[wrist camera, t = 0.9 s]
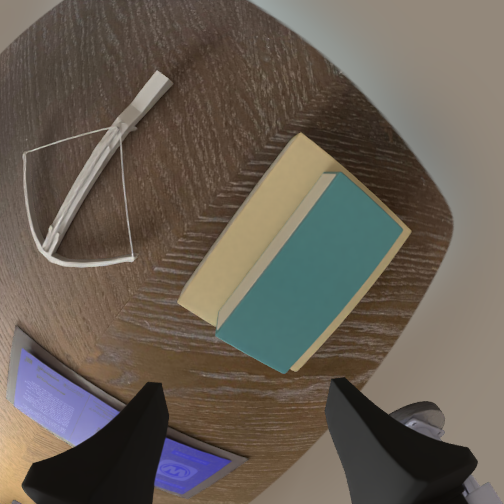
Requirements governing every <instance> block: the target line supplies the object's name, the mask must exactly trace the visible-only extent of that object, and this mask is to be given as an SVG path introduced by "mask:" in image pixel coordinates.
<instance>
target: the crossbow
mask: <svg viewBox="0 0 504 504" xmlns="http://www.w3.org/2000/svg"><path fill="white" fill-rule="evenodd" d="M173 84H174V83H173V82H171V81H170V80H169V79H168V78H167V77H165V76H164V75H163V74H161V73H160V72H159V71H156V72H155V73H154V75H153V76H152V77H151V78H150V80H149V81H148V82H147V83H146V85H145V86H144V87H143V89H142V90H141V91H140V92H139V94H138V95H137V96H136V98H135V99H134V100H133V102H132V103H131V104H130V105H129V106H128V107H127V108H126V109H125V110H124V111H123V112H122V113H121V114H120V115H119V116H118V118H117V119H116V120H115V122H114V123H113V124H112V126H111V127H108V128H104V129H100V130H96V131H92V132H88V133H85V134H81V135H77V136H74V137H71V138H67V139H64V140H61V141H57V142H54V143H51V144H48V145H45V146H42V147H39V148H36V149H34V150H37V149H40V148H43V147H46V146H49V145H52V144H55V143H59V142H62V141H65V140H68V139H72V138H75V137H79V136H82V135H86V134H90V133H94V132H98V131H102V130H106V129H109V130H108V131H107V133H106V134H105V136H104V137H103V139H102V140H101V141H100V142H99V143H98V145H97V146H96V148H95V149H94V151H93V153H92V155H91V157H90V158H89V160H88V161H87V163H86V164H85V166H84V168H83V169H82V171H81V173H80V174H79V176H78V178H77V179H76V181H75V183H74V185H73V186H72V188H71V190H70V192H69V193H68V195H67V197H66V199H65V201H64V203H63V204H62V206H61V208H60V210H59V212H58V214H57V216H56V218H55V220H54V222H53V224H52V225H50V227H49V229H48V230H49V232H48V235H47V237H46V239H44V238H43V236H42V233H41V231H40V229H39V225H38V221H37V217H36V212H35V207H34V200H33V191H32V181H31V162H32V154H31V152H32V151H34V150H29V151H24V153H23V160H24V193H25V202H26V210H27V215H28V220H29V224H30V228H31V232H32V236H33V238H34V240H35V242H36V245H37V248H38V250H39V252H41V253H42V254H43V255H44V256H45V257H46V258H47V259H48V260H49V261H50V262H52V263H56V264H59V265H61V266H68V267H93V266H106V265H111V264H115V263H120V262H125V261H129V262H133V261H134V260H135V259H136V258H137V257H138V255H139V253H133V247H132V240H131V234H130V226H129V219H128V211H127V202H126V193H125V182H124V170H123V156H122V141H123V140H124V139H125V137H126V136H127V135H128V133H129V132H131V131H136V129H137V127H135V125H136V124H137V123H138V122H139V121H140V120H141V119H142V118H143V117H144V116H145V115H146V113H147V112H148V111H149V110H150V109H151V108H152V107H153V105H154V104H155V103H156V102H157V101H158V100H159V99H160V98H161V97H162V96H163V94H164V93H165V92H166V91H167V90H168V89H169V88H170V87H171V86H172V85H173ZM119 146H120V150H121V165H122V178H123V188H124V198H125V207H126V215H127V223H128V230H129V237H130V244H131V250H132V254H127V255H123V256H118V257H113V258H104V259H92V260H83V259H69V258H66V257H63V256H60V254H58V253H56V251H57V249H58V247H59V245H60V243H61V241H62V239H63V237H64V235H65V233H66V231H67V229H68V228H69V226H70V224H71V222H72V220H73V218H74V217H75V215H76V213H77V211H78V209H79V208H80V206H81V204H82V203H83V201H84V199H85V197H86V196H87V194H88V192H89V191H90V189H91V188H92V186H93V184H94V183H95V181H96V180H97V178H98V176H99V175H100V173H101V172H102V170H103V169H104V167H105V166H106V164H107V163H108V161H109V160H110V158H111V157H112V155H113V154H114V153H115V151H116V150H117V148H118V147H119Z"/></svg>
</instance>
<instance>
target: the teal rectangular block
mask: <svg viewBox="0 0 504 504" xmlns="http://www.w3.org/2000/svg"><path fill="white" fill-rule="evenodd" d="M402 232H403V228H402V227H401V226H400V225H399V224H398V223H397V222H396V221H395V220H394V219H393V218H392V217H391V216H389V215H388V214H387V213H386V212H385V211H384V210H383V209H382V208H381V207H380V206H379V205H378V204H377V203H376V202H375V201H374V200H373V199H372V198H370V197H369V196H368V195H367V194H366V193H365V192H364V191H363V190H362V189H361V188H359V187H358V186H357V185H356V184H355V183H354V182H353V181H352V180H350V179H349V178H348V177H347V176H346V175H345V174H343V173H342V172H323V174H322V175H321V176H320V178H319V179H318V180H317V182H316V183H315V184H314V186H313V187H312V189H311V190H310V191H309V193H308V194H307V195H306V197H305V198H304V199H303V201H302V202H301V203H300V205H299V206H298V207H297V209H296V210H295V211H294V213H293V214H292V215H291V217H290V218H289V219H288V221H287V222H286V223H285V225H284V226H283V227H282V229H281V230H280V231H279V233H278V234H277V235H276V237H275V238H274V239H273V241H272V242H271V243H270V245H269V246H268V247H267V248H266V250H265V251H264V252H263V254H262V255H261V256H260V258H259V259H258V260H257V262H256V263H255V264H254V266H253V267H252V268H251V270H250V271H249V272H248V274H247V275H246V276H245V278H244V279H243V280H242V281H241V283H240V284H239V285H238V287H237V288H236V289H235V291H234V292H233V293H232V295H231V296H230V297H229V299H228V300H227V301H226V302H225V304H224V305H223V306H222V308H221V309H220V310H219V312H218V317H217V326H216V334H215V336H216V337H218V338H220V339H221V340H223V341H225V342H227V343H228V344H230V345H232V346H233V347H235V348H237V349H239V350H241V351H242V352H244V353H246V354H248V355H249V356H251V357H253V358H255V359H257V360H259V361H260V362H262V363H264V364H266V365H268V366H270V367H272V368H274V369H275V370H277V371H279V372H281V373H283V374H285V373H286V372H287V371H288V370H289V369H290V368H291V367H292V366H293V365H294V364H295V363H296V362H297V361H298V359H299V358H300V357H301V356H302V355H303V354H304V353H305V352H306V351H307V350H308V349H309V348H310V347H311V345H312V344H313V343H314V342H315V341H316V340H317V339H318V338H319V337H320V335H321V334H322V333H323V332H324V331H325V330H326V329H327V328H328V326H329V325H330V324H331V323H332V322H333V321H334V319H335V318H336V317H337V316H338V315H339V314H340V312H341V311H342V310H343V309H344V308H345V306H346V305H347V304H348V303H349V302H350V300H351V299H352V298H353V297H354V295H355V294H356V293H357V292H358V290H359V289H360V288H361V287H362V285H363V284H364V283H365V282H366V280H367V279H368V278H369V277H370V275H371V274H372V273H373V271H374V270H375V269H376V267H377V266H378V265H379V263H380V262H381V261H382V259H383V258H384V257H385V255H386V254H387V253H388V251H389V250H390V249H391V247H392V246H393V244H394V243H395V242H396V240H397V239H398V237H399V236H400V235H401V233H402Z"/></svg>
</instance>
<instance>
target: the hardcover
mask: <svg viewBox="0 0 504 504" xmlns="http://www.w3.org/2000/svg"><path fill="white" fill-rule="evenodd" d="M323 172H342V173H343V174H345V175H346V176H347V177H348V178H349V179H350V180H352V181H353V182H354V183H355V184H356V185H357V186H358V187H359V188H361V189H362V190H363V191H364V192H365V193H366V194H367V195H368V196H369V197H370V198H372V199H373V200H374V201H375V202H376V203H377V204H378V205H379V206H380V207H381V208H382V209H383V210H384V211H385V212H386V213H387V214H388V215H389V216H391V217H392V218H393V219H394V220H395V221H396V222H397V223H398V224H399V225H400V226H401V227H402V228H403V232H402V233H401V235H400V236H399V237H398V239H397V240H396V242H395V243H394V244H393V246H392V247H391V249H390V250H389V251H388V253H387V254H386V255H385V257H384V258H383V259H382V261H381V262H380V263H379V265H378V266H377V267H376V269H375V270H374V271H373V273H372V274H371V275H370V277H369V278H368V279H367V280H366V282H365V283H364V284H363V285H362V287H361V288H360V289H359V290H358V292H357V293H356V294H355V295H354V297H353V298H352V299H351V300H350V302H349V303H348V304H347V305H346V306H345V308H344V309H343V310H342V311H341V312H340V314H339V315H338V316H337V317H336V318H335V319H334V321H333V322H332V323H331V324H330V325H329V326H328V328H327V329H326V330H325V331H324V332H323V333H322V334H321V335H320V337H319V338H318V339H317V340H316V341H315V342H314V343H313V344H312V345H311V347H310V348H309V349H308V350H307V351H306V352H305V353H304V354H303V355H302V356H301V357H300V358H299V359H298V361H297V362H296V363H295V364H294V365H293V366H292V367H291V368H290V369H291V370H293V371H295V372H297V371H298V370H299V369H300V368H301V367H302V366H303V365H304V364H305V363H306V361H307V360H308V359H309V358H310V357H311V356H312V355H313V354H314V353H315V352H316V351H317V350H318V349H319V348H320V346H321V345H322V344H323V343H324V342H325V341H326V340H327V339H328V338H329V337H330V335H331V334H332V333H333V332H334V331H335V330H336V329H337V327H338V326H339V325H340V324H341V323H342V322H343V320H344V319H345V318H346V317H347V316H348V315H349V313H350V312H351V311H352V310H353V309H354V307H355V306H356V305H357V304H358V303H359V301H360V300H361V299H362V298H363V296H364V295H365V294H366V293H367V291H368V290H369V289H370V288H371V286H372V285H373V284H374V283H375V281H376V280H377V279H378V277H379V276H380V275H381V274H382V272H383V271H384V270H385V268H386V267H387V266H388V264H389V263H390V262H391V260H392V259H393V257H394V256H395V255H396V253H397V252H398V251H399V249H400V248H401V246H402V245H403V244H404V242H405V241H406V239H407V238H408V236H409V235H410V233H411V232H412V231H411V230H410V229H409V228H408V227H407V226H406V225H405V224H404V223H403V222H402V221H401V220H400V219H399V218H398V217H397V216H396V215H395V214H394V213H393V212H392V211H391V210H390V209H389V208H388V207H387V206H386V205H385V204H384V203H383V202H382V201H381V200H380V199H379V198H378V197H376V196H375V195H374V194H373V193H372V192H371V191H370V190H369V189H368V188H367V187H366V186H365V185H363V184H362V183H361V182H360V181H359V180H358V179H357V178H356V177H355V176H353V175H352V174H351V173H350V172H349V171H348V170H347V169H345V168H344V167H343V166H342V165H341V164H340V163H338V162H337V161H336V160H335V159H334V158H332V157H331V156H330V155H329V154H328V153H326V152H325V151H324V150H323V149H321V148H320V147H319V146H318V145H316V144H315V143H314V142H313V141H311V140H310V139H309V138H308V137H306V136H305V135H304V134H302V133H299V134H297V135H296V136H294V137H293V138H292V139H291V140H290V141H289V142H288V144H287V145H286V146H285V147H284V149H283V150H282V151H281V153H280V154H279V155H278V157H277V158H276V159H275V161H274V162H273V163H272V165H271V166H270V167H269V169H268V170H267V171H266V173H265V174H264V175H263V177H262V178H261V179H260V181H259V182H258V183H257V185H256V186H255V187H254V189H253V190H252V191H251V193H250V194H249V196H248V197H247V198H246V200H245V201H244V202H243V204H242V205H241V207H240V208H239V209H238V211H237V212H236V213H235V215H234V216H233V218H232V219H231V220H230V222H229V223H228V225H227V226H226V227H225V229H224V230H223V232H222V233H221V234H220V236H219V237H218V239H217V240H216V241H215V243H214V244H213V246H212V247H211V248H210V250H209V251H208V253H207V254H206V256H205V257H204V258H203V260H202V261H201V263H200V264H199V266H198V267H197V268H196V270H195V271H194V273H193V274H192V276H191V277H190V279H189V280H188V282H187V283H186V284H185V286H184V288H183V290H182V293H181V295H180V297H179V299H178V302H177V303H178V304H180V305H181V306H183V307H185V308H186V309H188V310H189V311H191V312H192V313H194V314H196V315H197V316H199V317H200V318H202V319H204V320H205V321H207V322H209V323H210V324H212V325H213V326H215V327H216V326H217V317H218V312H219V310H220V309H221V308H222V306H223V305H224V304H225V302H226V301H227V300H228V299H229V297H230V296H231V295H232V293H233V292H234V291H235V289H236V288H237V287H238V285H239V284H240V283H241V281H242V280H243V279H244V278H245V276H246V275H247V274H248V272H249V271H250V270H251V268H252V267H253V266H254V264H255V263H256V262H257V260H258V259H259V258H260V256H261V255H262V254H263V252H264V251H265V250H266V248H267V247H268V246H269V245H270V243H271V242H272V241H273V239H274V238H275V237H276V235H277V234H278V233H279V231H280V230H281V229H282V227H283V226H284V225H285V223H286V222H287V221H288V219H289V218H290V217H291V215H292V214H293V213H294V211H295V210H296V209H297V207H298V206H299V205H300V203H301V202H302V201H303V199H304V198H305V197H306V195H307V194H308V193H309V191H310V190H311V189H312V187H313V186H314V184H315V183H316V182H317V180H318V179H319V178H320V176H321V175H322V174H323Z"/></svg>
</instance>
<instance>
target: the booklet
mask: <svg viewBox="0 0 504 504" xmlns="http://www.w3.org/2000/svg"><path fill="white" fill-rule="evenodd" d="M13 405H14V407H16V408H17V409H18V410H20V411H21V412H23V413H24V414H25V415H27V416H28V417H30V418H31V419H32V420H34V421H35V422H36V423H38V424H39V425H41V426H42V427H43V428H45V429H46V430H48V431H49V432H51V433H52V434H53V435H55V436H56V437H58V438H59V439H61V440H63V441H64V442H66V443H67V444H69V445H71V446H72V447H75V446H77V445H78V444H80V443H82V442H83V441H85V440H87V439H88V438H90V437H91V436H93V435H94V434H95V433H97V432H98V431H99V430H101V429H102V428H103V427H104V426H105V425H107V424H108V423H109V422H110V421H111V420H112V419H113V418H114V417H115V416H116V415H118V414H119V413H120V411H118V410H117V409H115V408H114V407H112V406H110V405H109V404H107V403H106V402H104V401H102V400H101V399H99V398H98V397H96V396H95V395H93V394H92V393H90V392H89V391H87V390H85V389H84V388H82V387H80V386H79V385H77V384H75V383H74V382H72V381H70V380H69V379H67V378H66V377H64V376H63V375H61V374H60V373H58V372H57V371H55V370H54V369H52V368H51V367H49V366H48V365H46V364H45V363H43V362H42V361H41V360H39V359H38V358H36V357H35V356H34V355H32V354H31V353H30V352H28V351H27V350H26V349H24V348H23V347H22V348H21V350H20V355H19V361H18V367H17V373H16V380H15V388H14V397H13ZM224 460H225V459H224V458H222V457H221V456H218V455H214V454H211V453H208V452H205V451H203V450H200V449H197V448H194V447H191V446H189V445H186V444H183V443H181V442H178V441H176V440H173V439H171V438H168V437H166V439H165V442H164V446H163V450H162V454H161V458H160V461H159V465H158V469H157V473H156V478H155V483H154V487H155V488H157V489H160V490H162V491H165V492H168V493H175V492H176V491H175V490H176V489H188V488H189V487H188V486H187V485H185V484H194V485H195V484H196V483H195V482H194V481H200V480H201V479H200V478H204V477H205V476H204V475H207V474H208V473H207V472H210V473H212V472H213V471H212V470H214V469H215V468H218V467H219V466H221V465H222V464H221V462H222V461H224Z"/></svg>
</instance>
